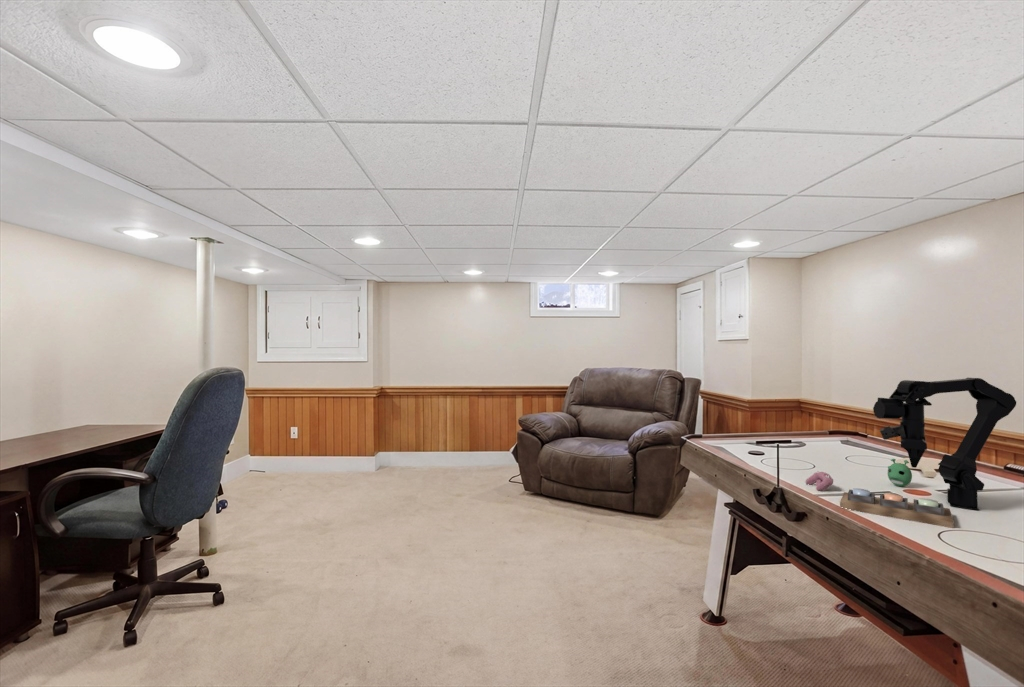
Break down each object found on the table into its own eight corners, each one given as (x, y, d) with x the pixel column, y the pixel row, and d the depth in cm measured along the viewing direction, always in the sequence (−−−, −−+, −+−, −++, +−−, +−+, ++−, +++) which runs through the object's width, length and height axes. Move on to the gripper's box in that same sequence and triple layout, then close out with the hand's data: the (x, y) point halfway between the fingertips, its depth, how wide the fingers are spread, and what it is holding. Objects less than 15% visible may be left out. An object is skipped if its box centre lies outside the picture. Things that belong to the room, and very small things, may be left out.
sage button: (938, 510, 140) (937, 500, 140) (938, 514, 136) (938, 503, 136) (918, 507, 142) (918, 497, 143) (918, 510, 139) (918, 500, 139)
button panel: (949, 515, 141) (949, 501, 142) (953, 527, 131) (953, 513, 131) (844, 498, 158) (844, 486, 158) (840, 508, 147) (839, 495, 148)
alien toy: (882, 485, 175) (882, 458, 176) (894, 482, 178) (893, 456, 179) (904, 490, 169) (904, 462, 169) (916, 487, 172) (915, 460, 172)
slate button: (870, 499, 150) (870, 490, 150) (869, 502, 147) (869, 493, 147) (853, 496, 153) (853, 487, 153) (852, 500, 149) (852, 490, 149)
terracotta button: (903, 504, 145) (902, 495, 145) (902, 508, 141) (902, 498, 141) (884, 502, 148) (884, 492, 148) (884, 505, 144) (884, 495, 144)
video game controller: (828, 496, 165) (838, 479, 165) (816, 490, 166) (825, 472, 166) (815, 488, 175) (824, 472, 175) (803, 482, 176) (812, 466, 176)
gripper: (882, 414, 165) (883, 459, 165) (880, 419, 151) (881, 468, 150) (924, 417, 158) (925, 463, 157) (926, 422, 144) (927, 474, 143)
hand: (913, 467), depth 152 cm, fingers closed
